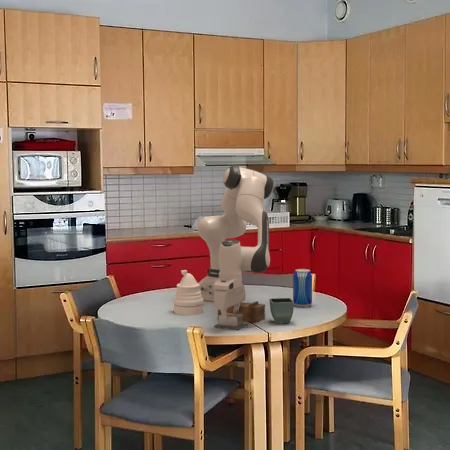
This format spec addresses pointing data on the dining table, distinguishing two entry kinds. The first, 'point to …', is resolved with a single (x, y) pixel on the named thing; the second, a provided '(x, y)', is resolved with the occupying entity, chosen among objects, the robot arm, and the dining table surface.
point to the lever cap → (231, 320)
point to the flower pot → (281, 309)
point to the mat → (230, 327)
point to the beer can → (302, 288)
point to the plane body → (249, 311)
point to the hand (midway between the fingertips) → (230, 316)
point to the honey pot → (188, 296)
